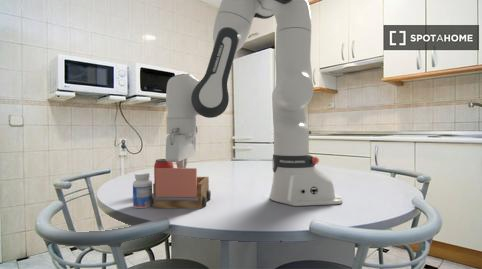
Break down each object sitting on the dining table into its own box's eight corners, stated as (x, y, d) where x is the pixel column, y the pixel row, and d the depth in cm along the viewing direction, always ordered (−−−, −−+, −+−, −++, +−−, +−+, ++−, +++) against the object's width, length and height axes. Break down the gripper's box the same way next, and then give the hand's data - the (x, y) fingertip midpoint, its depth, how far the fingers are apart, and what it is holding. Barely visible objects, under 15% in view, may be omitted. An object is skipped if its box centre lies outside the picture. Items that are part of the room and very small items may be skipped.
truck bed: (211, 197, 91) (211, 176, 91) (204, 208, 79) (204, 184, 79) (164, 197, 92) (164, 176, 92) (150, 208, 80) (150, 183, 80)
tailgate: (198, 200, 79) (198, 168, 78) (197, 201, 77) (197, 168, 77) (155, 199, 79) (155, 168, 79) (154, 201, 78) (153, 168, 78)
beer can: (176, 191, 101) (175, 158, 100) (169, 195, 94) (169, 160, 94) (158, 191, 101) (158, 158, 101) (151, 195, 95) (150, 160, 95)
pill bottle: (134, 204, 84) (134, 172, 84) (153, 203, 85) (152, 171, 85) (131, 209, 79) (131, 175, 78) (151, 207, 80) (151, 174, 80)
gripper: (182, 128, 74) (183, 179, 74) (198, 128, 94) (199, 168, 94) (159, 128, 74) (160, 179, 74) (180, 128, 94) (180, 168, 95)
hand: (182, 173), depth 84 cm, fingers closed
